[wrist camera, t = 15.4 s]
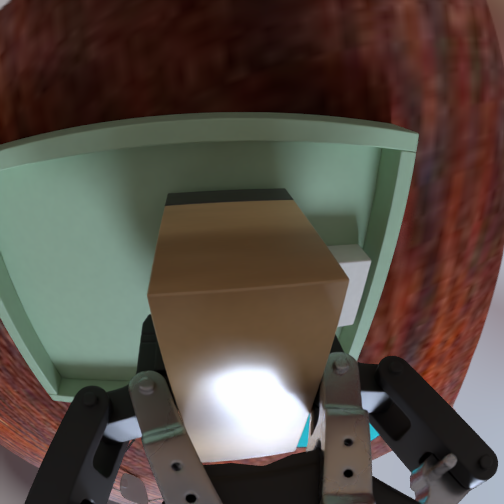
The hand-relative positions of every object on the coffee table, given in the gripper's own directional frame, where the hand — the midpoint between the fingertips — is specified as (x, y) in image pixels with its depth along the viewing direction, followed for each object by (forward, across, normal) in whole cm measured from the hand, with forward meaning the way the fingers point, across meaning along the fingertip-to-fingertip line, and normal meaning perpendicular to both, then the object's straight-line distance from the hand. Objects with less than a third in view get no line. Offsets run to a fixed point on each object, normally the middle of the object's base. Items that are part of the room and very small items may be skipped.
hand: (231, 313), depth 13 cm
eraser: (+1, 0, 0) cm, 1 cm away
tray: (+2, +2, 0) cm, 3 cm away
